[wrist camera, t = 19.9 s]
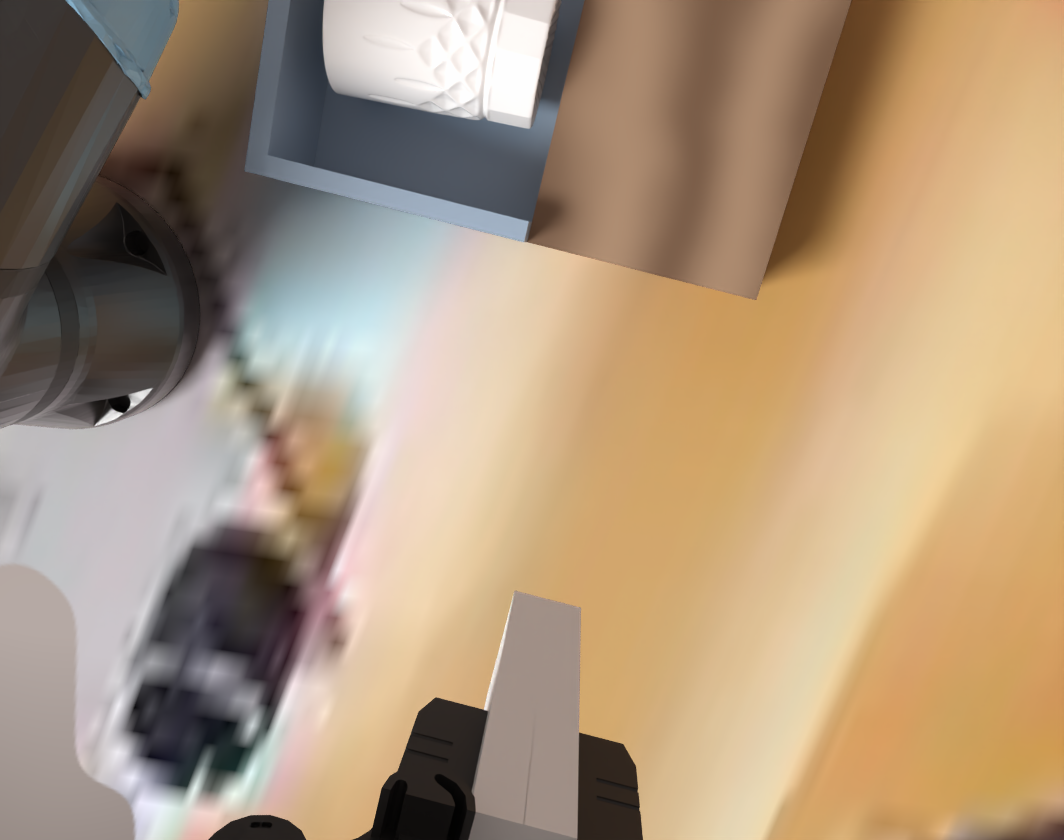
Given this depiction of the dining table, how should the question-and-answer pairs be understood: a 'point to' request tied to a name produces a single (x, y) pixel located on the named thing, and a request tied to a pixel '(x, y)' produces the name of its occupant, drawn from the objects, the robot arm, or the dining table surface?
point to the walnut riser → (685, 134)
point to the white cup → (443, 54)
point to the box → (397, 135)
